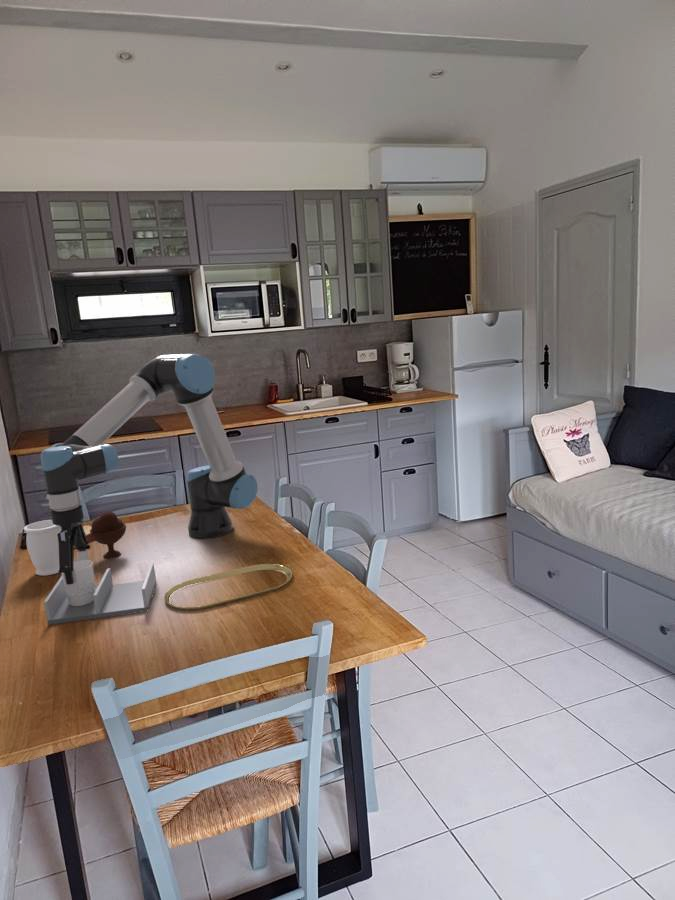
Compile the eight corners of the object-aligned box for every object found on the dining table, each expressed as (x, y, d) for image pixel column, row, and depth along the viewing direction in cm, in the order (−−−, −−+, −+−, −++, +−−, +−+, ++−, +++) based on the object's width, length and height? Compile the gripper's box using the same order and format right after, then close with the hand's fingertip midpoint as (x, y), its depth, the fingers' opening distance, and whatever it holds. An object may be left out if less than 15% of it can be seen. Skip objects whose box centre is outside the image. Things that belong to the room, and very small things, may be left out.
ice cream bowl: (135, 548, 208) (128, 505, 205) (120, 561, 197) (113, 516, 194) (104, 549, 209) (97, 506, 206) (88, 562, 198) (80, 517, 195)
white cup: (72, 596, 171) (66, 561, 169) (101, 593, 171) (96, 558, 169) (62, 609, 163) (55, 573, 161) (93, 606, 164) (87, 570, 162)
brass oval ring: (302, 586, 170) (302, 580, 170) (172, 619, 156) (171, 613, 156) (279, 564, 187) (279, 559, 187) (159, 592, 173) (159, 587, 173)
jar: (76, 565, 197) (68, 519, 194) (51, 578, 187) (43, 531, 184) (49, 563, 200) (41, 518, 197) (24, 576, 191) (15, 529, 188)
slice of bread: (59, 553, 210) (57, 542, 209) (54, 538, 225) (52, 528, 225) (115, 541, 218) (113, 531, 217) (106, 528, 234) (105, 518, 233)
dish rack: (156, 583, 178) (153, 562, 177) (148, 611, 161) (144, 588, 160) (66, 594, 175) (62, 574, 174) (48, 624, 158) (43, 601, 156)
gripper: (63, 495, 173) (76, 567, 178) (35, 524, 149) (51, 606, 154) (91, 492, 174) (103, 563, 179) (68, 520, 150) (83, 602, 155)
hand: (79, 583), depth 166 cm, fingers open, 13 cm apart
